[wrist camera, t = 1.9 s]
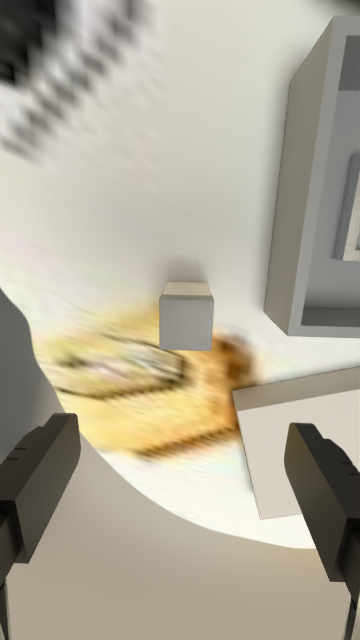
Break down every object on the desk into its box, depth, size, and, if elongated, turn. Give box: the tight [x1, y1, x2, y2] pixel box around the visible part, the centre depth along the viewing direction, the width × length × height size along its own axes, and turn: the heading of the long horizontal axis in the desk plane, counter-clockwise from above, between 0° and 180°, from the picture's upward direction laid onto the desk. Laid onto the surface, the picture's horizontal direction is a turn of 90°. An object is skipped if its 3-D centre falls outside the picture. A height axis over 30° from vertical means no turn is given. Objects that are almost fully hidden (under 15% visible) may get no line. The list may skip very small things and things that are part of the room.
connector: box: [159, 282, 214, 351], centre depth 27 cm, size 4×4×9 cm
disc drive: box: [232, 366, 360, 520], centre depth 34 cm, size 18×22×5 cm
